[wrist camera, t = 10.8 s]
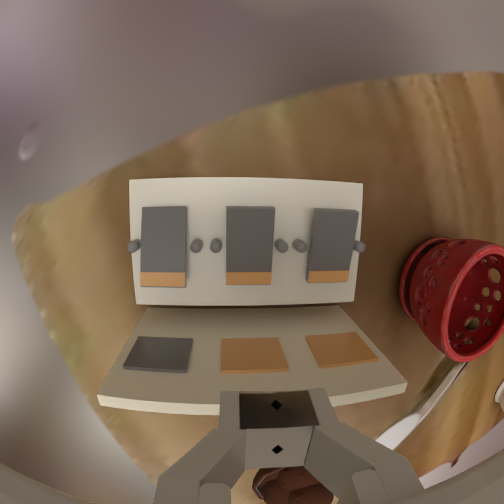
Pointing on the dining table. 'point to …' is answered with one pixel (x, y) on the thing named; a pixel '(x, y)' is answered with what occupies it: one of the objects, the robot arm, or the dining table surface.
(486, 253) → the plant pot
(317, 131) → the dining table surface
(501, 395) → the jar
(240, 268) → the switch middle
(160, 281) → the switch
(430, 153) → the dining table surface
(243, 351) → the switch unit
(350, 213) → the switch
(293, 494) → the ice cream bowl
